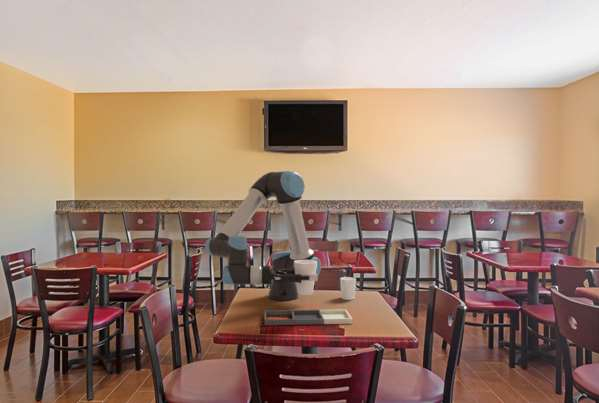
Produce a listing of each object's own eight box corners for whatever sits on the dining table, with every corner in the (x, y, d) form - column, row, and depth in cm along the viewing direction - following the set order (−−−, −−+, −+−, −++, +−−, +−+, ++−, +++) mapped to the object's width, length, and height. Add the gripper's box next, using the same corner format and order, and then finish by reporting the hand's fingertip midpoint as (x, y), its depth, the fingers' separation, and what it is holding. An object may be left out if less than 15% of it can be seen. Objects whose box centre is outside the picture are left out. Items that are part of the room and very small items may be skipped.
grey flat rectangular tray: (264, 325, 158) (264, 320, 158) (264, 315, 171) (264, 310, 171) (352, 323, 161) (352, 318, 161) (345, 313, 174) (345, 309, 174)
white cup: (337, 299, 199) (337, 279, 199) (343, 295, 206) (343, 276, 206) (352, 301, 195) (352, 280, 195) (357, 297, 202) (358, 278, 202)
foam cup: (317, 290, 168) (317, 260, 168) (315, 296, 159) (316, 263, 158) (295, 290, 169) (295, 259, 169) (292, 295, 160) (292, 263, 160)
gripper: (262, 278, 174) (313, 278, 175) (260, 290, 152) (319, 290, 153) (262, 261, 173) (313, 261, 175) (260, 271, 151) (319, 270, 153)
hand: (316, 274), depth 164 cm, fingers closed on foam cup, 9 cm apart
